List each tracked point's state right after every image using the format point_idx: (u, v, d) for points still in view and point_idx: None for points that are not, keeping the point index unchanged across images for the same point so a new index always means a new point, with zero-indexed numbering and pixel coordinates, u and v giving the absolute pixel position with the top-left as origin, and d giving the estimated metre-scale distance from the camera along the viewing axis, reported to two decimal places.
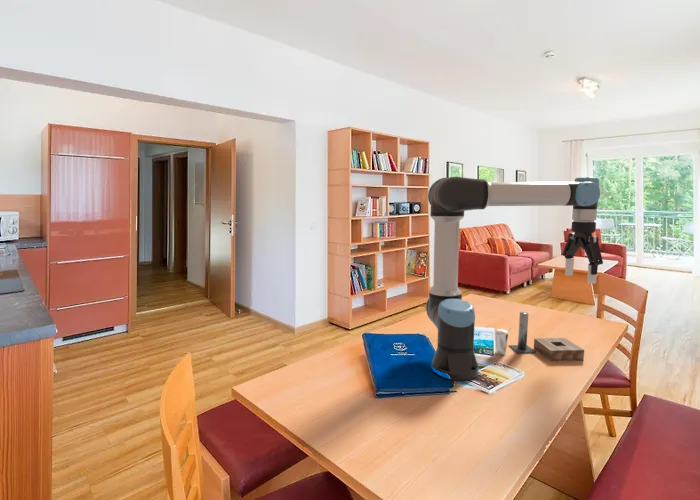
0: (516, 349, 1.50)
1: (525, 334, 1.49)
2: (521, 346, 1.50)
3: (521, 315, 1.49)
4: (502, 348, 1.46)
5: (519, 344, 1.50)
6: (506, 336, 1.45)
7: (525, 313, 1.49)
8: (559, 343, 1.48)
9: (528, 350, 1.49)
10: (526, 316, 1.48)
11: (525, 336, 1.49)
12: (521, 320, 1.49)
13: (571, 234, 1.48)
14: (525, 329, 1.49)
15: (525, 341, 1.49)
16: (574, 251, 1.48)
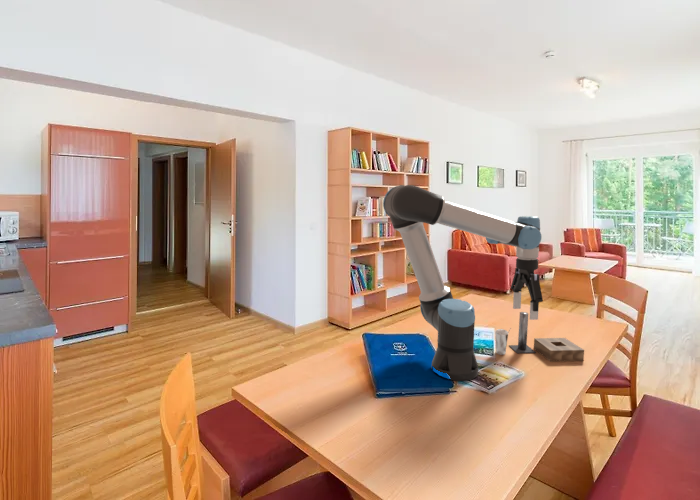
0: (516, 349, 1.50)
1: (525, 334, 1.49)
2: (521, 346, 1.50)
3: (521, 315, 1.49)
4: (502, 348, 1.46)
5: (519, 344, 1.50)
6: (506, 336, 1.45)
7: (525, 313, 1.49)
8: (559, 343, 1.48)
9: (528, 350, 1.49)
10: (526, 316, 1.48)
11: (525, 336, 1.49)
12: (521, 320, 1.49)
13: (517, 269, 1.53)
14: (525, 329, 1.49)
15: (525, 341, 1.49)
16: (520, 285, 1.53)
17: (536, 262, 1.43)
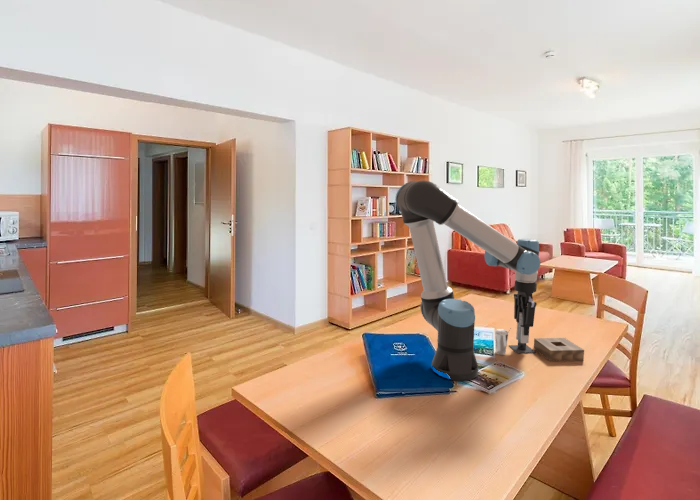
0: (516, 349, 1.50)
1: None
2: (521, 346, 1.50)
3: (521, 315, 1.49)
4: (502, 348, 1.46)
5: (519, 344, 1.50)
6: (506, 336, 1.45)
7: None
8: (559, 343, 1.48)
9: (528, 350, 1.49)
10: None
11: None
12: (521, 320, 1.49)
13: (516, 294, 1.54)
14: None
15: None
16: None
17: (534, 285, 1.45)
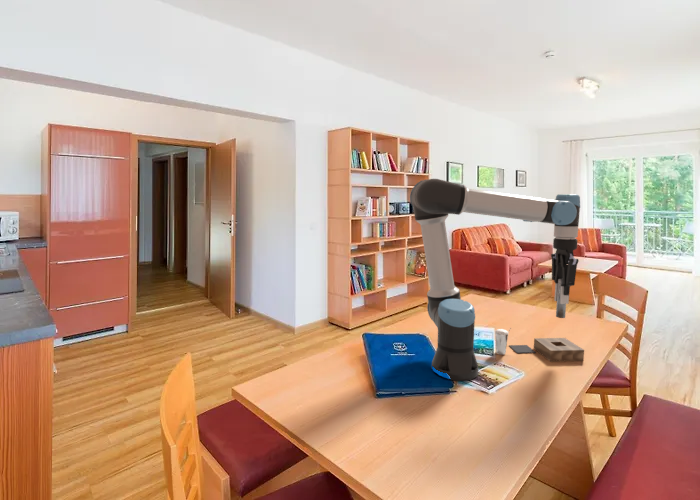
0: (516, 349, 1.50)
1: None
2: (560, 314, 1.43)
3: (560, 281, 1.42)
4: (502, 348, 1.46)
5: (558, 312, 1.44)
6: (506, 336, 1.45)
7: None
8: (559, 343, 1.48)
9: (528, 350, 1.49)
10: None
11: None
12: (560, 287, 1.42)
13: (553, 254, 1.47)
14: None
15: (564, 309, 1.43)
16: (561, 272, 1.44)
17: (575, 242, 1.38)
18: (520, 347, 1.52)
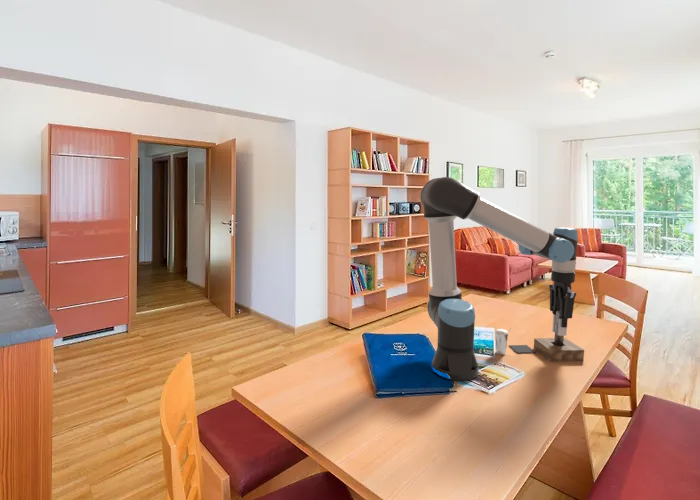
0: (516, 349, 1.50)
1: None
2: None
3: (558, 313, 1.44)
4: (502, 348, 1.46)
5: (555, 343, 1.45)
6: (506, 336, 1.45)
7: None
8: None
9: (528, 350, 1.49)
10: None
11: None
12: (558, 319, 1.44)
13: (551, 285, 1.49)
14: None
15: (562, 340, 1.44)
16: (559, 304, 1.46)
17: (573, 275, 1.39)
18: (520, 347, 1.52)
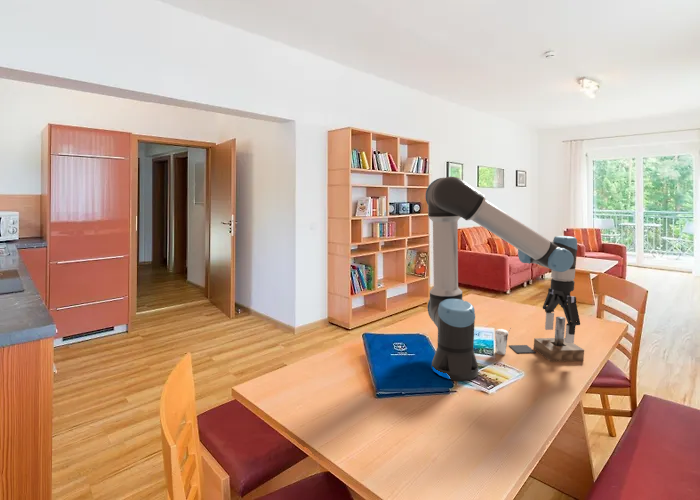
0: (516, 349, 1.50)
1: (562, 339, 1.44)
2: None
3: (558, 320, 1.44)
4: (502, 348, 1.46)
5: None
6: (506, 336, 1.45)
7: (562, 318, 1.44)
8: None
9: (528, 350, 1.49)
10: (563, 321, 1.43)
11: (562, 341, 1.44)
12: (558, 325, 1.44)
13: (551, 289, 1.49)
14: (562, 334, 1.44)
15: None
16: (554, 306, 1.49)
17: (572, 284, 1.40)
18: (520, 347, 1.52)
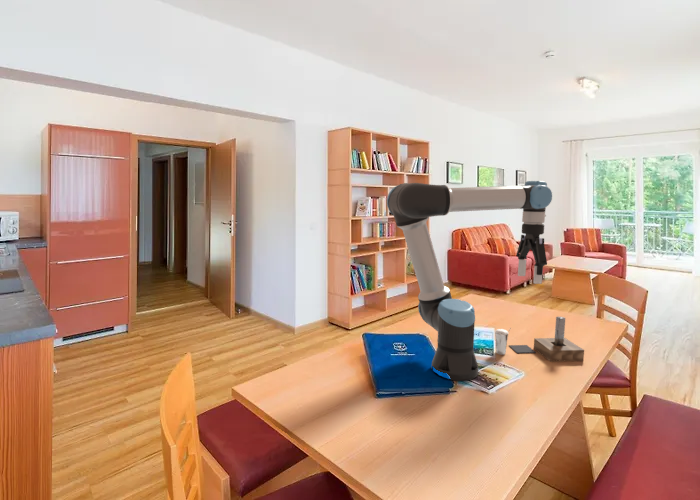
0: (516, 349, 1.50)
1: (562, 339, 1.44)
2: None
3: (558, 320, 1.44)
4: (502, 348, 1.46)
5: None
6: (506, 336, 1.45)
7: (562, 318, 1.44)
8: None
9: (528, 350, 1.49)
10: (563, 321, 1.43)
11: (562, 341, 1.44)
12: (558, 325, 1.44)
13: (523, 236, 1.53)
14: (562, 334, 1.44)
15: None
16: (526, 252, 1.53)
17: (542, 227, 1.44)
18: (520, 347, 1.52)
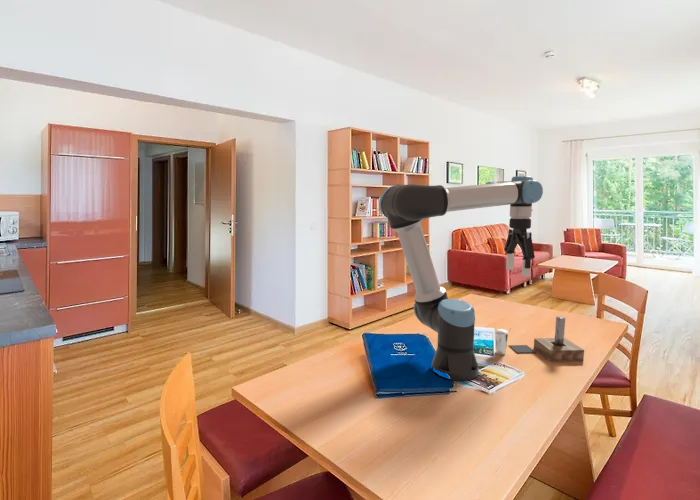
0: (516, 349, 1.50)
1: (562, 339, 1.44)
2: None
3: (558, 320, 1.44)
4: (502, 348, 1.46)
5: None
6: (506, 336, 1.45)
7: (562, 318, 1.44)
8: None
9: (528, 350, 1.49)
10: (563, 321, 1.43)
11: (562, 341, 1.44)
12: (558, 325, 1.44)
13: (511, 230, 1.56)
14: (562, 334, 1.44)
15: None
16: (514, 246, 1.56)
17: (529, 221, 1.46)
18: (520, 347, 1.52)
